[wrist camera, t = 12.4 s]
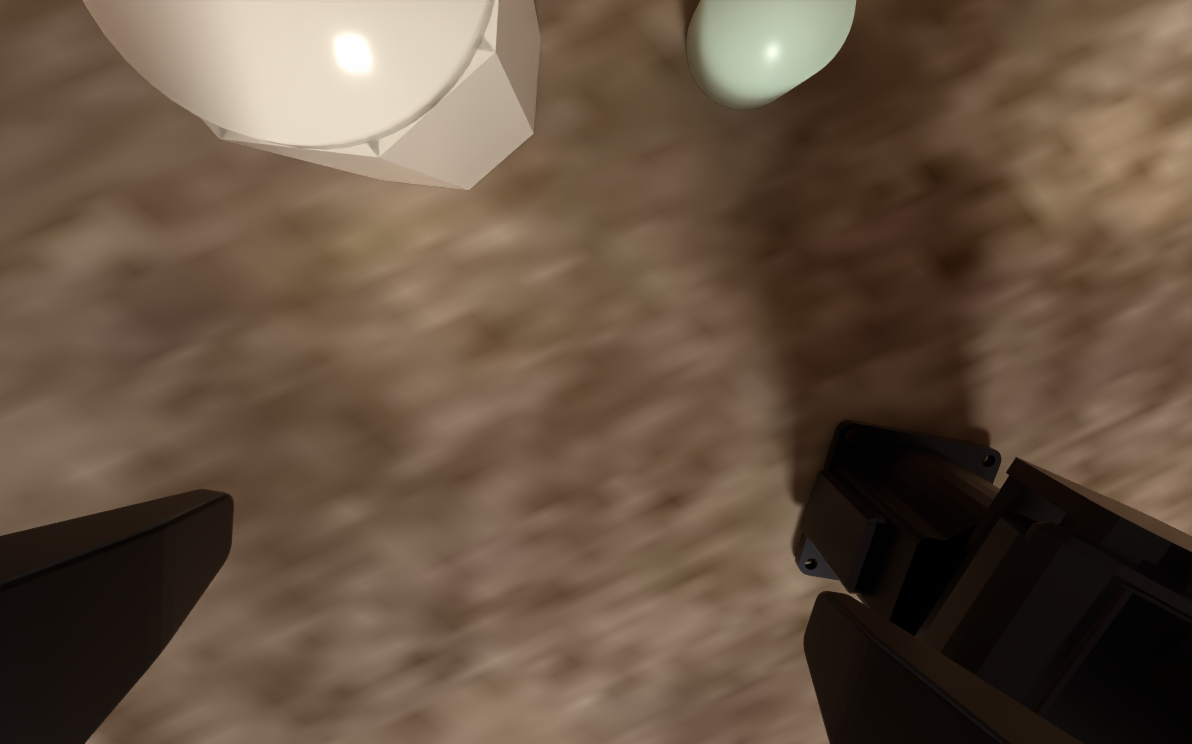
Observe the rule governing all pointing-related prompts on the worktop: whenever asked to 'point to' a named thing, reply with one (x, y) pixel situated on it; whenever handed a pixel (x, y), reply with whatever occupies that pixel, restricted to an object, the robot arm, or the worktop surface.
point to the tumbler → (346, 77)
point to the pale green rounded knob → (763, 46)
